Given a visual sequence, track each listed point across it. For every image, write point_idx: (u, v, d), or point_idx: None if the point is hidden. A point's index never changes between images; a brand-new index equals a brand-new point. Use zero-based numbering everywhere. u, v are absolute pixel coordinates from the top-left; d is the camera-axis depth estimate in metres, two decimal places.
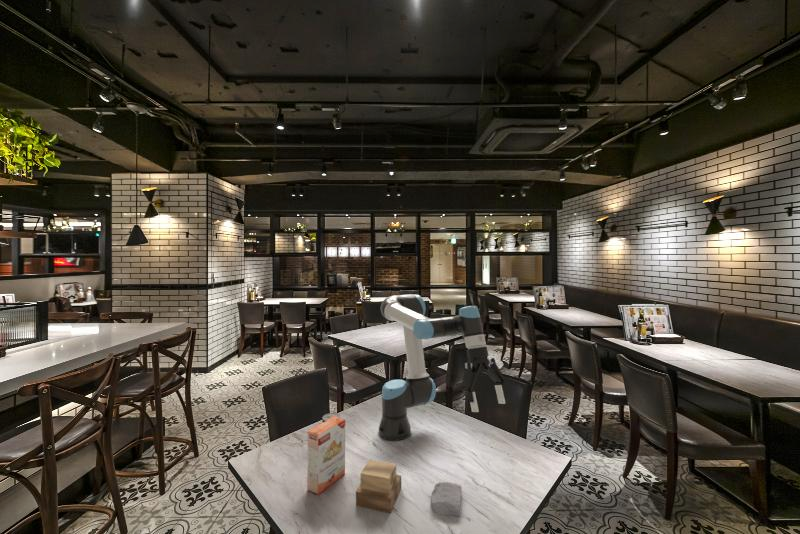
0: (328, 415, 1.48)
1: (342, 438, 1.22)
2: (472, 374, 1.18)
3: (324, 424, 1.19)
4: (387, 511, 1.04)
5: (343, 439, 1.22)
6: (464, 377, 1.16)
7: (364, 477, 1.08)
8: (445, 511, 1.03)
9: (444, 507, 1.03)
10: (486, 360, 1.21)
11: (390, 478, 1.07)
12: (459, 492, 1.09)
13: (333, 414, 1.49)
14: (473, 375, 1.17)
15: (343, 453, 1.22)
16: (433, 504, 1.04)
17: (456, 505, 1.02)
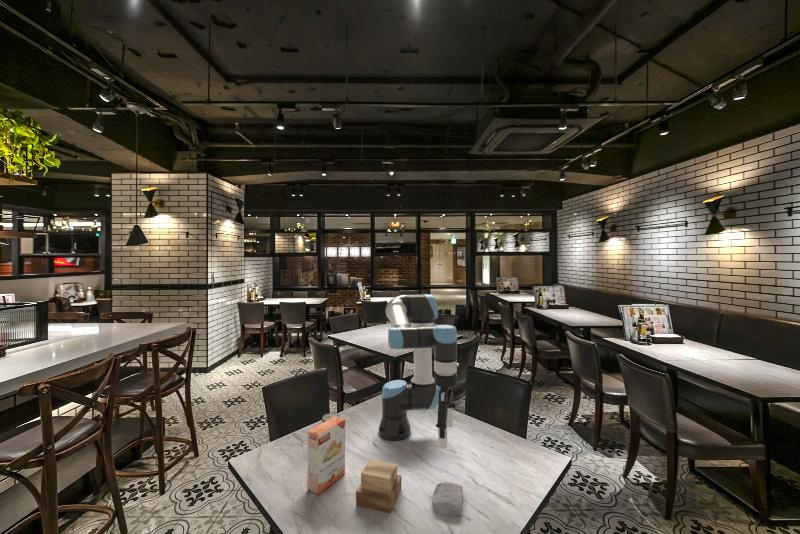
0: (328, 415, 1.48)
1: (342, 438, 1.22)
2: None
3: (324, 424, 1.19)
4: (387, 511, 1.04)
5: (343, 439, 1.22)
6: (440, 411, 1.01)
7: (364, 476, 1.08)
8: (446, 511, 1.03)
9: (445, 507, 1.03)
10: None
11: (390, 478, 1.07)
12: (460, 492, 1.09)
13: (333, 414, 1.49)
14: None
15: (343, 453, 1.22)
16: (434, 504, 1.04)
17: (458, 505, 1.02)
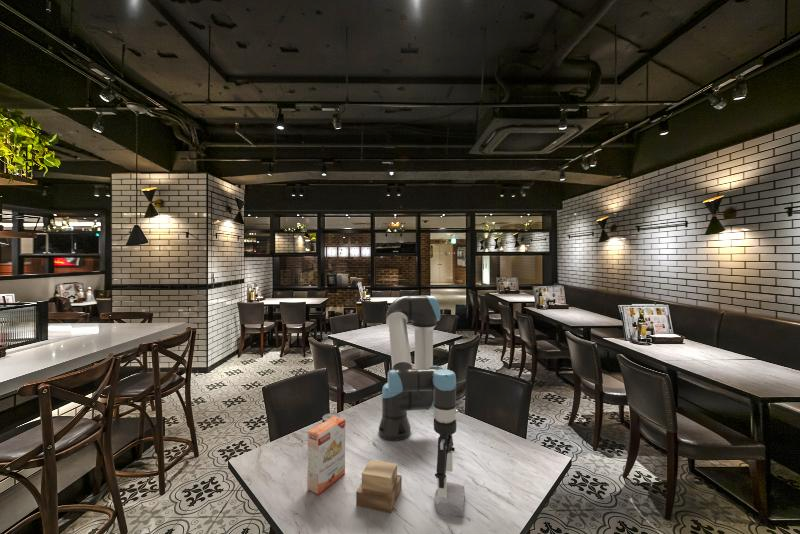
0: (328, 415, 1.48)
1: (342, 438, 1.22)
2: None
3: (324, 424, 1.19)
4: (387, 511, 1.04)
5: (343, 439, 1.22)
6: (439, 461, 1.00)
7: (365, 477, 1.08)
8: (449, 512, 1.03)
9: (447, 507, 1.03)
10: None
11: (391, 478, 1.07)
12: (462, 492, 1.09)
13: (333, 414, 1.49)
14: None
15: (343, 453, 1.22)
16: (436, 505, 1.04)
17: (460, 505, 1.02)
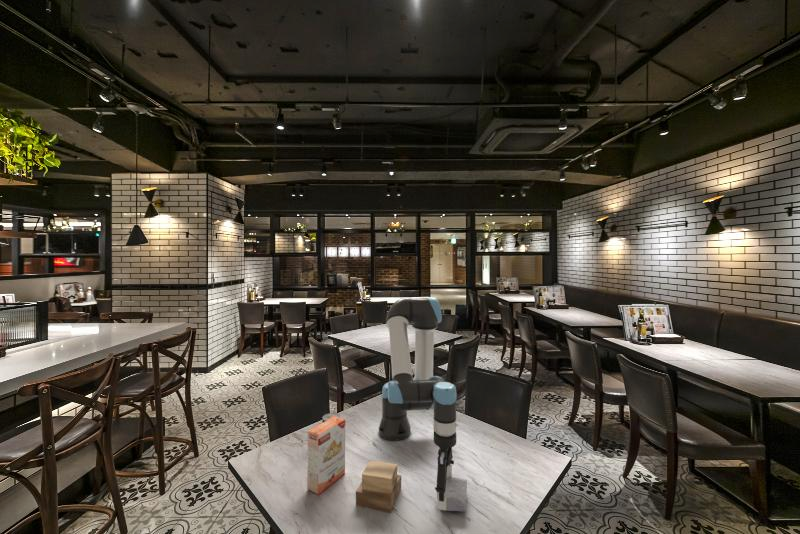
0: (328, 415, 1.48)
1: (342, 438, 1.22)
2: None
3: (324, 424, 1.19)
4: (387, 511, 1.04)
5: (343, 439, 1.22)
6: (439, 475, 1.01)
7: (365, 478, 1.08)
8: (451, 506, 1.03)
9: (450, 502, 1.03)
10: None
11: (392, 478, 1.07)
12: (465, 487, 1.09)
13: (333, 414, 1.49)
14: None
15: (343, 453, 1.22)
16: None
17: (463, 500, 1.02)
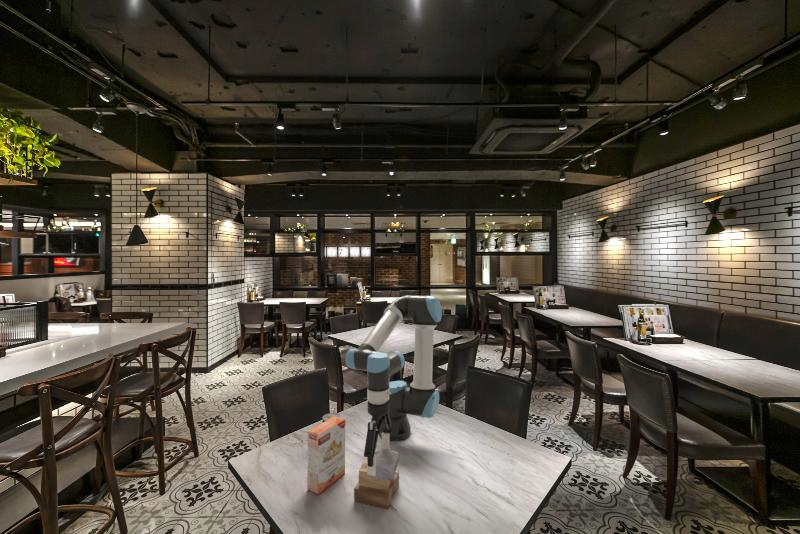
0: (328, 415, 1.48)
1: (342, 438, 1.22)
2: None
3: (324, 424, 1.19)
4: (385, 507, 1.06)
5: (343, 439, 1.22)
6: (368, 440, 1.03)
7: (362, 474, 1.10)
8: (379, 475, 1.06)
9: (378, 471, 1.06)
10: None
11: None
12: (395, 458, 1.12)
13: (333, 414, 1.49)
14: (374, 434, 1.06)
15: (343, 453, 1.22)
16: None
17: (390, 468, 1.05)
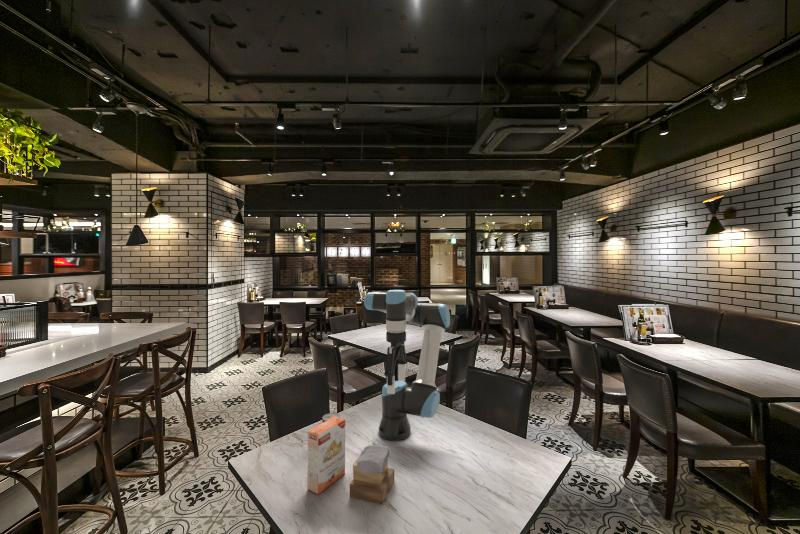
0: (328, 415, 1.48)
1: (342, 438, 1.22)
2: None
3: (324, 424, 1.19)
4: (379, 503, 1.08)
5: (343, 439, 1.22)
6: (388, 362, 1.16)
7: (356, 468, 1.13)
8: (369, 469, 1.09)
9: (368, 465, 1.09)
10: (400, 343, 1.26)
11: None
12: (385, 452, 1.15)
13: (333, 414, 1.49)
14: (393, 359, 1.19)
15: (343, 453, 1.22)
16: (358, 463, 1.10)
17: (379, 462, 1.08)
